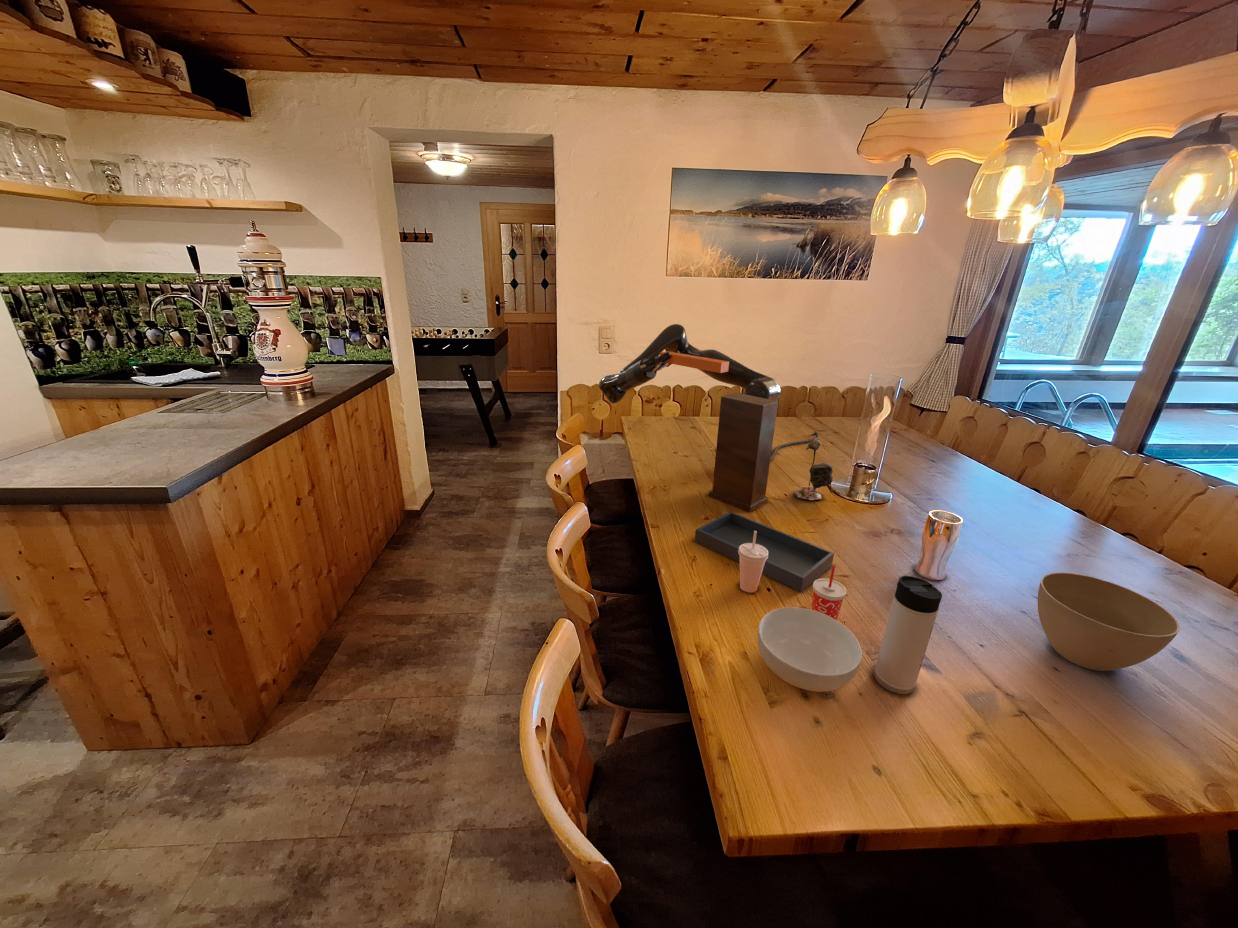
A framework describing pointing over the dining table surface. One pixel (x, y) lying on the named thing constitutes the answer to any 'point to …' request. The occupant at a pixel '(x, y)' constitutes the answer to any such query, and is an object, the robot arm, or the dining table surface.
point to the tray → (786, 553)
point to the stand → (743, 450)
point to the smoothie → (751, 564)
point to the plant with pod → (816, 476)
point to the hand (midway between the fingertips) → (674, 353)
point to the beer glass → (938, 543)
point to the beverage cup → (828, 596)
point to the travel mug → (907, 634)
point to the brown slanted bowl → (1101, 622)
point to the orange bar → (697, 362)
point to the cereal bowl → (808, 648)
